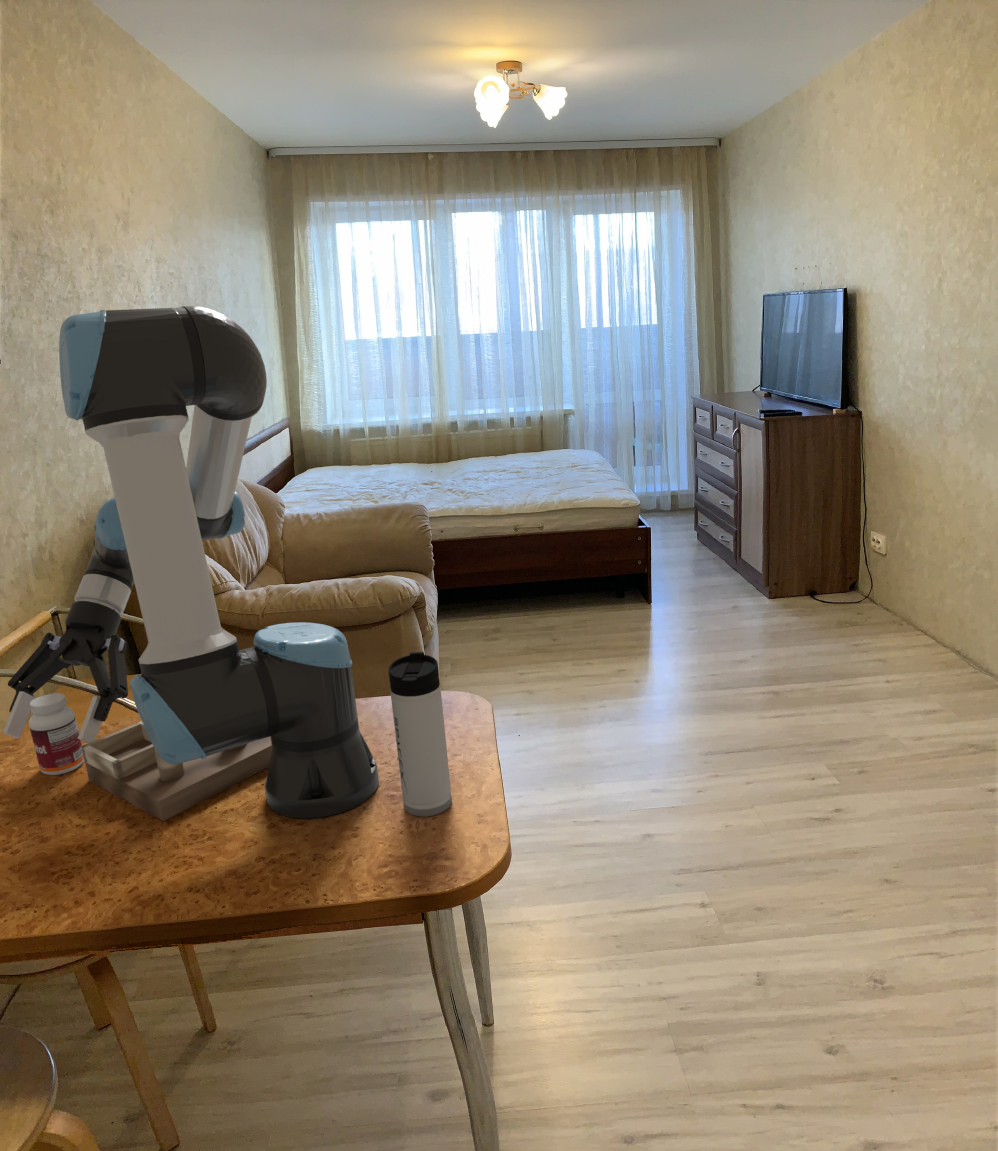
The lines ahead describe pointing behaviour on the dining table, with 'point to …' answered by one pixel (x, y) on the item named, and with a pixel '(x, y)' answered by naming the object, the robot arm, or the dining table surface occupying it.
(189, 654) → the robot arm
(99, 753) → the wooden organizer tray
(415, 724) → the travel mug
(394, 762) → the dining table surface
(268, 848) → the dining table surface
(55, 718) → the pill bottle
